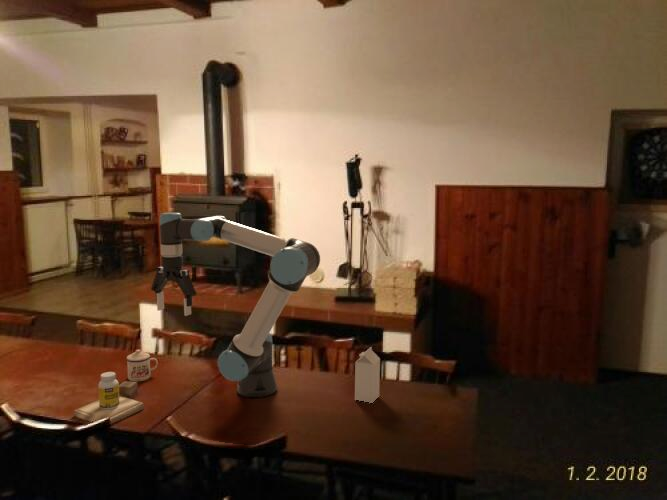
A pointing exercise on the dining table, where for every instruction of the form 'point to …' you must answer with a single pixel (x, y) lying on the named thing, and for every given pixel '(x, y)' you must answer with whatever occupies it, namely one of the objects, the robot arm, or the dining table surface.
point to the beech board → (109, 410)
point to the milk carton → (367, 377)
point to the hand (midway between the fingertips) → (174, 312)
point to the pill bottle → (108, 391)
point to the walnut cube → (128, 389)
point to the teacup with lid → (139, 366)
